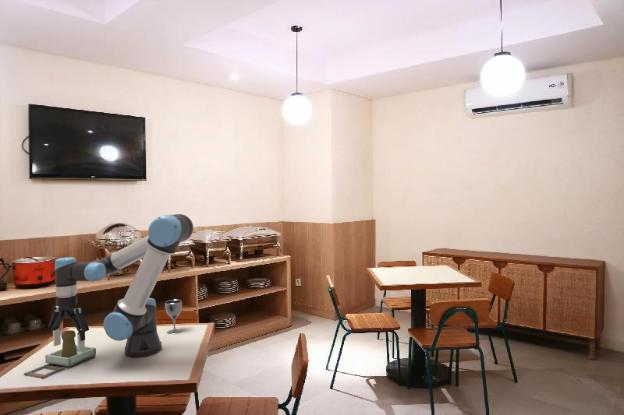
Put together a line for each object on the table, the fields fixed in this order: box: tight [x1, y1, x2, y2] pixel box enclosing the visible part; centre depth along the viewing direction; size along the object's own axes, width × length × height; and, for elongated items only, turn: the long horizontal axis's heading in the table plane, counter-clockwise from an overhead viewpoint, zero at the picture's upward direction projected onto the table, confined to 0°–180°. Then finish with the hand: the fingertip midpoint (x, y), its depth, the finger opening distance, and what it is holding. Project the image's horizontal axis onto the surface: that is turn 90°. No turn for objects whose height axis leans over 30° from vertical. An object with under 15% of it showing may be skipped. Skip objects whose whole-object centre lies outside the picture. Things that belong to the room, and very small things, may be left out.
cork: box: [60, 329, 77, 358], centre depth 180 cm, size 6×6×11 cm
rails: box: [23, 355, 96, 379], centre depth 176 cm, size 11×23×1 cm, turn 159°
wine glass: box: [164, 299, 183, 335], centre depth 217 cm, size 8×8×15 cm
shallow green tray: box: [44, 344, 97, 367], centre depth 181 cm, size 13×13×3 cm
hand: (69, 346), depth 180 cm, fingers open, 13 cm apart
